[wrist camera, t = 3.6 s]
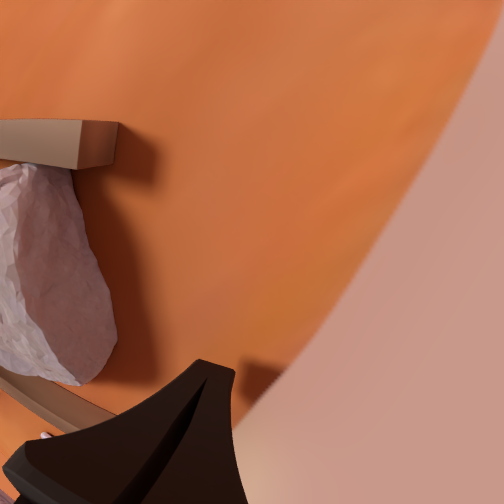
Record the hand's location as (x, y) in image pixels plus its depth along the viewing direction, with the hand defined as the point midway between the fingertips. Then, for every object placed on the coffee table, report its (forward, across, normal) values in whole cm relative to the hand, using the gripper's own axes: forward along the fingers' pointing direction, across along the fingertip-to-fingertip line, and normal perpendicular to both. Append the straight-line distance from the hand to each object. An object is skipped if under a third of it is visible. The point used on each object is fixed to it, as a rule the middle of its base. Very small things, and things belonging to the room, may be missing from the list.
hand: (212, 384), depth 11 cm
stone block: (+2, +11, 0) cm, 11 cm away
